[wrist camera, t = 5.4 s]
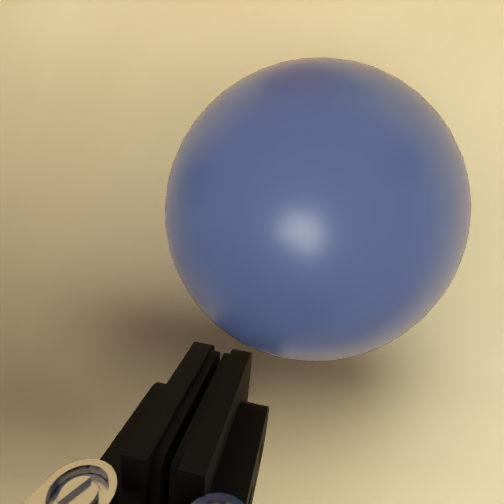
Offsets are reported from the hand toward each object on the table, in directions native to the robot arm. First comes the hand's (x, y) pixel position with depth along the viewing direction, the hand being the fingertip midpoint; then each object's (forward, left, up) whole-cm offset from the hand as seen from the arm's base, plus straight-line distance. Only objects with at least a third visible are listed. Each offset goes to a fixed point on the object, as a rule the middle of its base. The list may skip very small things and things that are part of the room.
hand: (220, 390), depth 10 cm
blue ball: (+5, +3, +1) cm, 6 cm away
